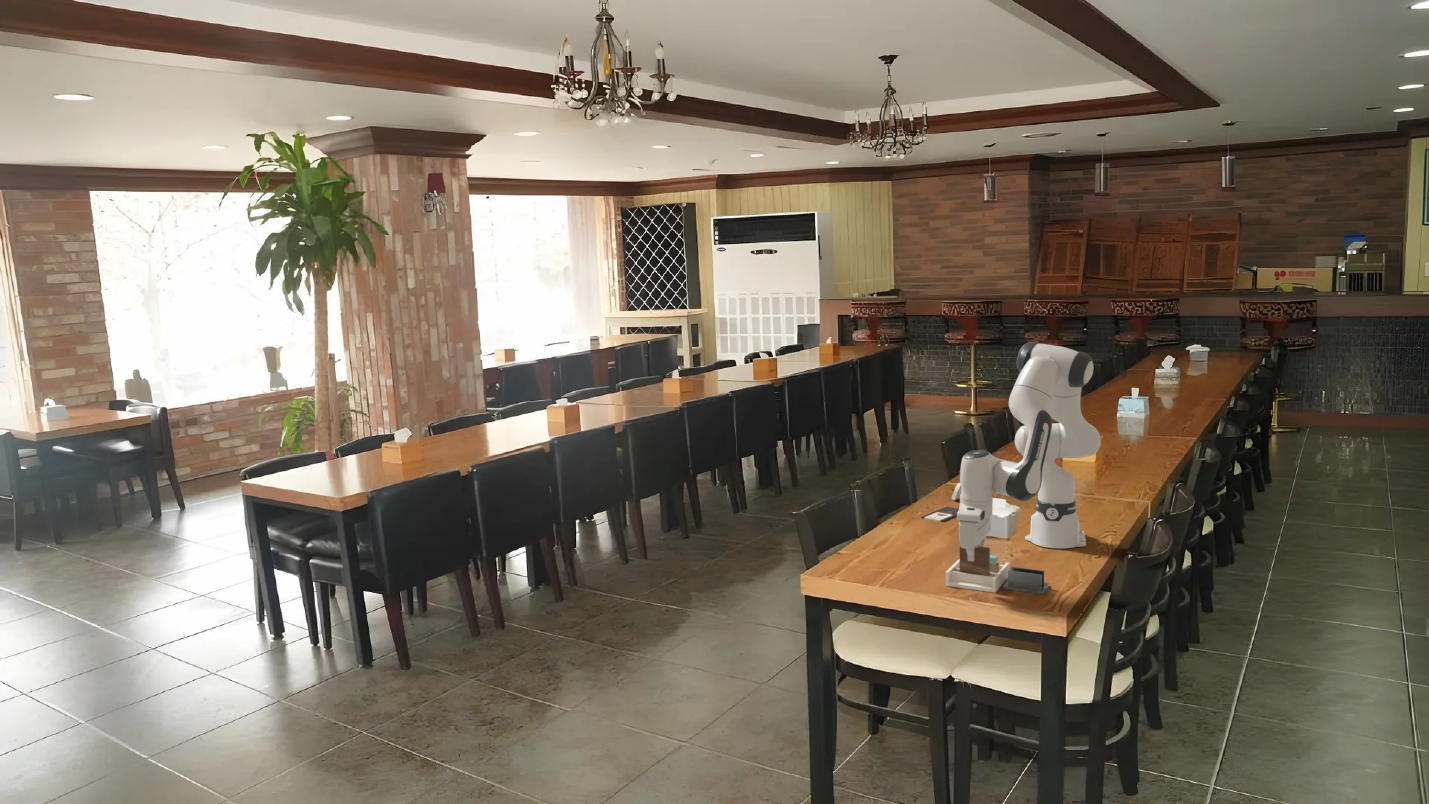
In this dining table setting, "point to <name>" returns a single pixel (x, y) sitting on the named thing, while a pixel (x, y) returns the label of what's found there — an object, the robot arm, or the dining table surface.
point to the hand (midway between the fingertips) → (975, 556)
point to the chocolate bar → (942, 514)
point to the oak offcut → (994, 568)
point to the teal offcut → (993, 560)
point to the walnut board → (976, 561)
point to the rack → (976, 578)
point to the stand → (1026, 580)
